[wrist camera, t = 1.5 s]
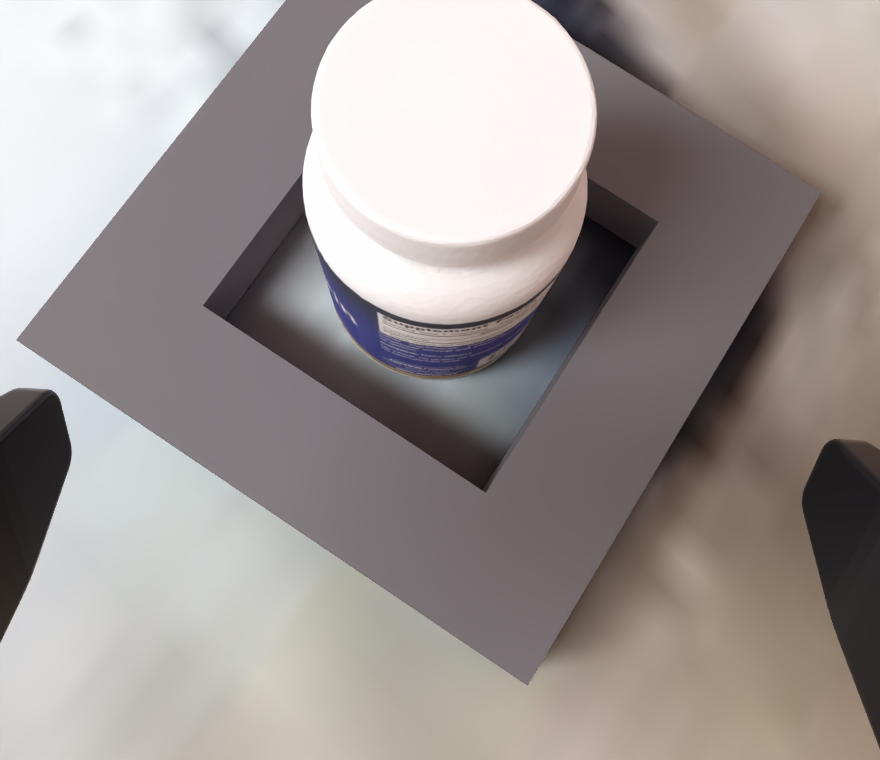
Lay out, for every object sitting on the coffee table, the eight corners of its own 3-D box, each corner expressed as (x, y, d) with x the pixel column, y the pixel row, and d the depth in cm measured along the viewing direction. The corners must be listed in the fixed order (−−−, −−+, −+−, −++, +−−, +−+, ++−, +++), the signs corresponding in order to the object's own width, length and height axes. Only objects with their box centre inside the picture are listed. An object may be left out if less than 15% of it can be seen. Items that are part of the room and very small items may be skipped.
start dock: (515, 670, 21) (527, 685, 19) (51, 356, 22) (15, 339, 20) (786, 220, 23) (821, 192, 21) (362, -43, 24) (359, -93, 22)
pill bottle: (328, 194, 23) (274, -55, 13) (525, 187, 23) (616, -60, 13) (335, 390, 22) (281, 281, 12) (541, 381, 22) (651, 265, 12)
